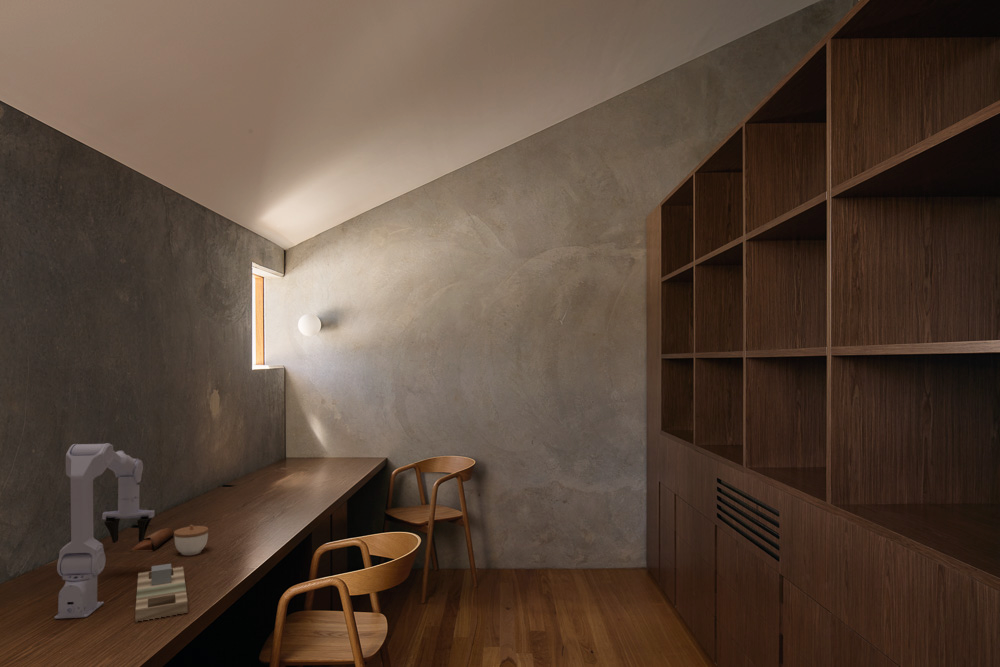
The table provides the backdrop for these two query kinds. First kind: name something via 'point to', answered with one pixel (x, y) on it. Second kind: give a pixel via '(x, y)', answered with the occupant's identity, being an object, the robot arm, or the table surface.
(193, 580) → the table surface
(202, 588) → the table surface
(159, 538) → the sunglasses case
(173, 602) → the trap deck
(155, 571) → the block
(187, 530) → the lidded jar
